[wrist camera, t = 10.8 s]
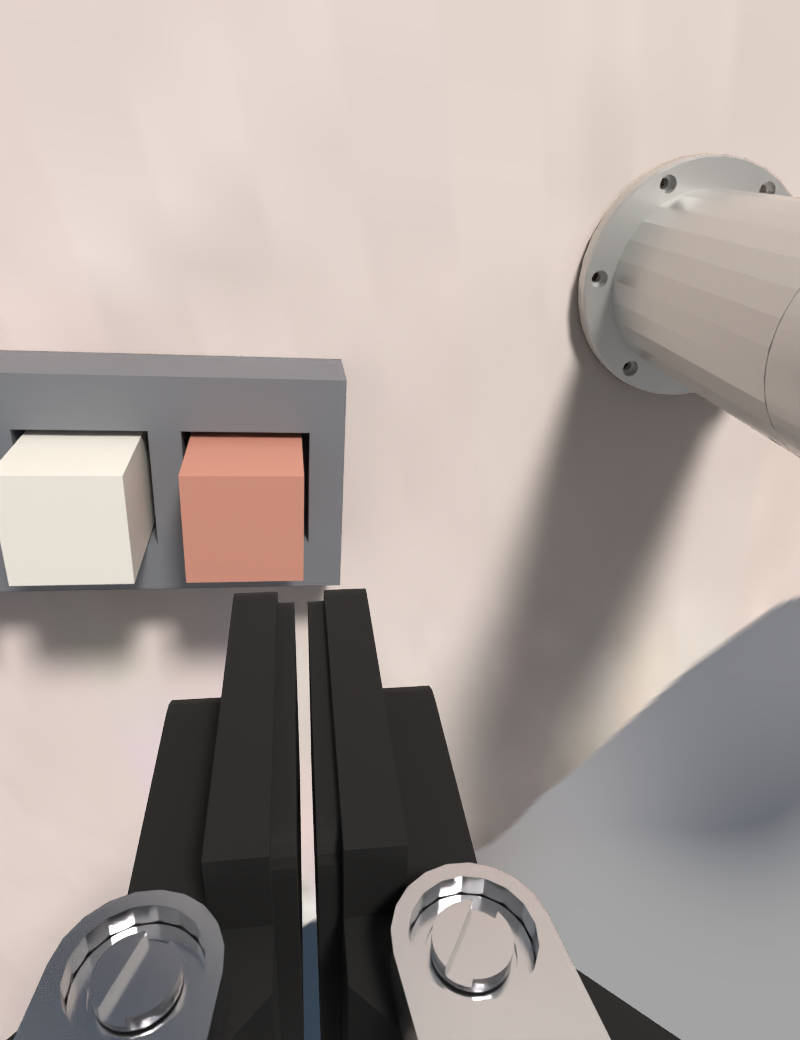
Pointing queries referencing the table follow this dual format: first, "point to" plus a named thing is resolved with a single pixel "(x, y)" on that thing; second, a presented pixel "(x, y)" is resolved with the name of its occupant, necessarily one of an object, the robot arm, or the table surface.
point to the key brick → (243, 507)
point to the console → (189, 434)
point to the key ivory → (75, 507)
